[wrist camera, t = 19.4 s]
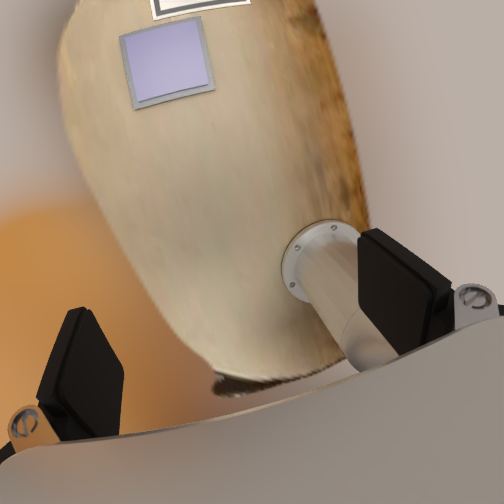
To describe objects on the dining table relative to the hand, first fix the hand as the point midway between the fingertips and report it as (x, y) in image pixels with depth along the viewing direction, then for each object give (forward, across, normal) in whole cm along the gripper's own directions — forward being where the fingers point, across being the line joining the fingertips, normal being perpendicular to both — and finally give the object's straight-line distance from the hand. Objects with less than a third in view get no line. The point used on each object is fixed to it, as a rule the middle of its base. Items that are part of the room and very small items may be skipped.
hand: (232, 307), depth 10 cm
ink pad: (+28, 0, -12) cm, 31 cm away
